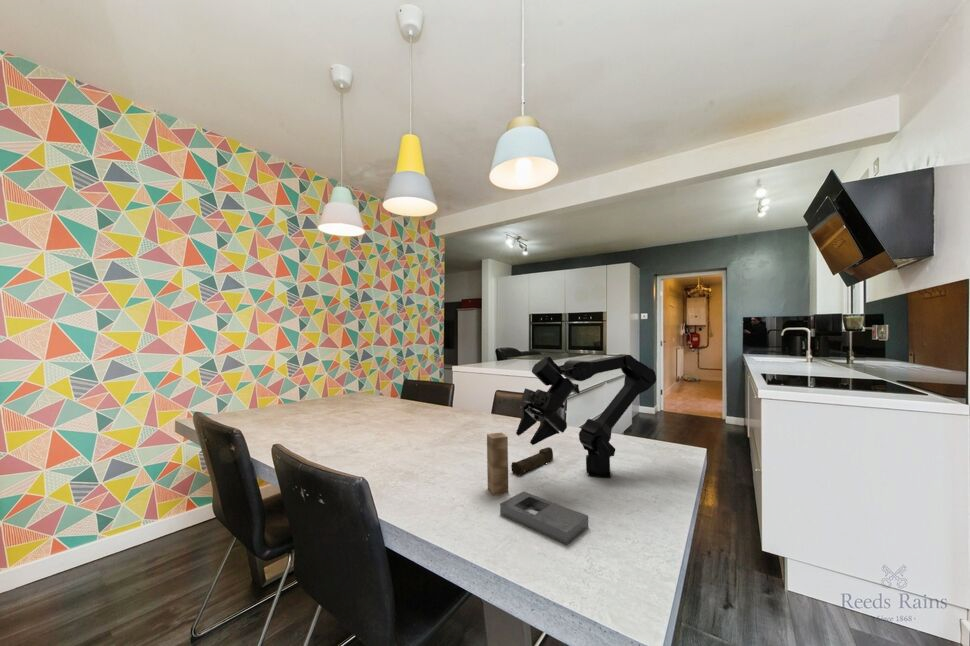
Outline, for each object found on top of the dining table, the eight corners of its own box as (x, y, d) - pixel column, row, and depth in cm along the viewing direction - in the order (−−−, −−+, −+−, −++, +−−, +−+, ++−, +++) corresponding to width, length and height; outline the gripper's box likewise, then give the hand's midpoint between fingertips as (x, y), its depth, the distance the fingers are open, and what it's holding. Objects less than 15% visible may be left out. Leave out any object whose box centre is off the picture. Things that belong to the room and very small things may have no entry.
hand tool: (520, 477, 106) (520, 462, 106) (510, 473, 109) (510, 458, 109) (559, 462, 118) (559, 448, 118) (549, 458, 121) (549, 445, 121)
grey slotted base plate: (500, 514, 84) (500, 503, 84) (523, 501, 91) (523, 491, 91) (567, 545, 72) (566, 532, 72) (588, 527, 78) (588, 515, 78)
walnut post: (502, 486, 100) (501, 432, 100) (508, 492, 95) (507, 436, 96) (487, 488, 98) (486, 434, 99) (493, 495, 94) (492, 438, 94)
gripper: (523, 374, 111) (492, 414, 107) (554, 382, 93) (518, 430, 89) (547, 397, 113) (517, 436, 109) (581, 408, 95) (547, 456, 92)
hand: (524, 439), depth 100 cm, fingers open, 9 cm apart
